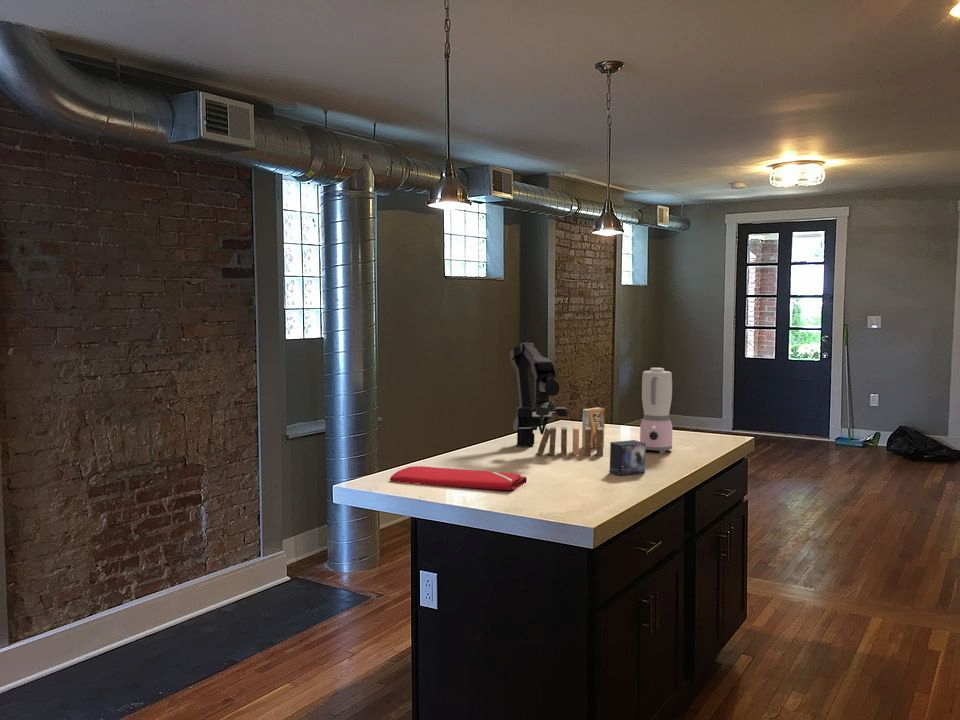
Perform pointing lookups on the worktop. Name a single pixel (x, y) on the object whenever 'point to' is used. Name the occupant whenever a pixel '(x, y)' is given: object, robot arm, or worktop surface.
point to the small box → (627, 457)
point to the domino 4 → (575, 441)
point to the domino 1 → (544, 440)
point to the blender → (656, 410)
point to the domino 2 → (552, 441)
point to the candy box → (593, 424)
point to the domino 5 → (587, 441)
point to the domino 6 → (599, 441)
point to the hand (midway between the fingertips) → (541, 434)
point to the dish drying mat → (459, 478)
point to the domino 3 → (563, 440)
